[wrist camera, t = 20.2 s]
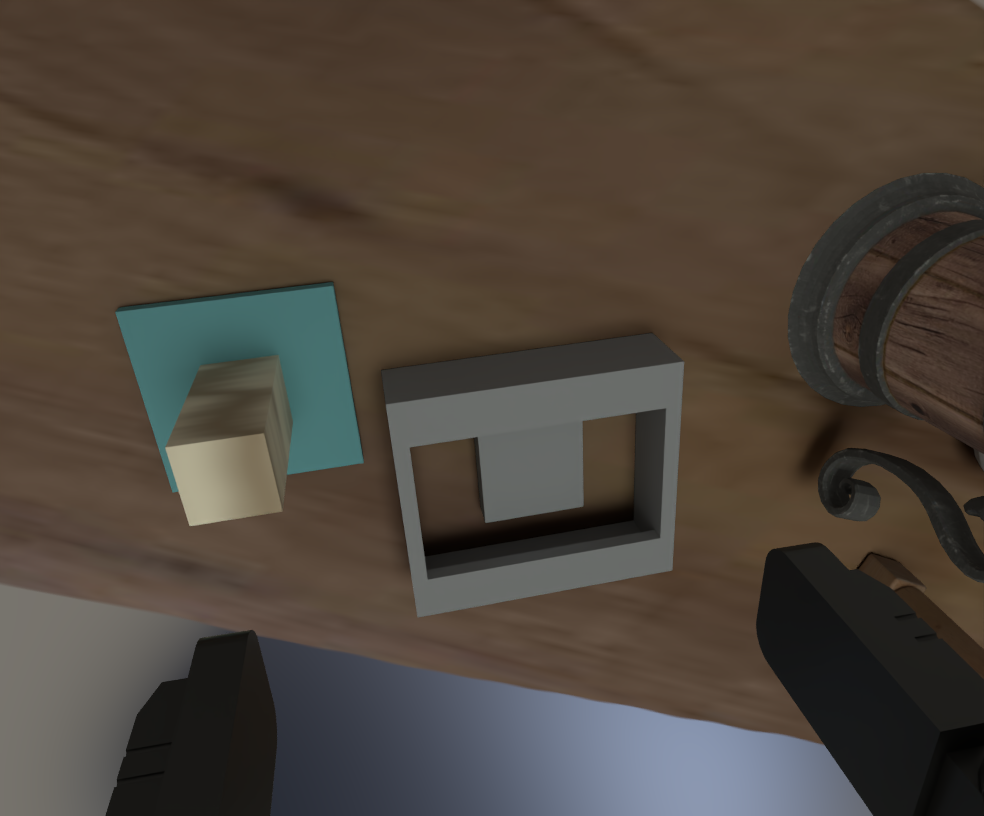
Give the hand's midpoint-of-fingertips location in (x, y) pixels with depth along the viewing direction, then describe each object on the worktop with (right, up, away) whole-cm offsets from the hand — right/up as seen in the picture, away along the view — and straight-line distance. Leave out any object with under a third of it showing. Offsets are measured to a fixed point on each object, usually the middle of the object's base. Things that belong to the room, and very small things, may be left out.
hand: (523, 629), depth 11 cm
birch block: (-15, +4, +33) cm, 36 cm away
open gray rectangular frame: (+2, 0, +40) cm, 40 cm away
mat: (-15, +5, +34) cm, 37 cm away
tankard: (+27, +8, +41) cm, 50 cm away
